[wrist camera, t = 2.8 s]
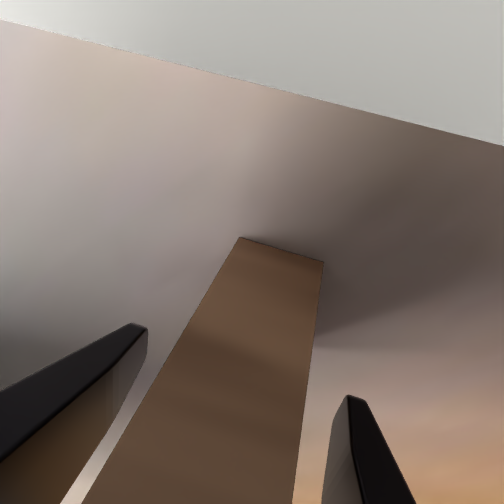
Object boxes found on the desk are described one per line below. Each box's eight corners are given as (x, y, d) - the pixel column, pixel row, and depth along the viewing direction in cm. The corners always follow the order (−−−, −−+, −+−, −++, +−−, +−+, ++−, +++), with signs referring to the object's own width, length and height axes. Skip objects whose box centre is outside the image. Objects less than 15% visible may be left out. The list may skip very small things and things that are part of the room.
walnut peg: (293, 345, 12) (210, 768, 5) (221, 322, 12) (45, 694, 5) (323, 262, 10) (262, 727, 3) (239, 237, 10) (11, 621, 3)
